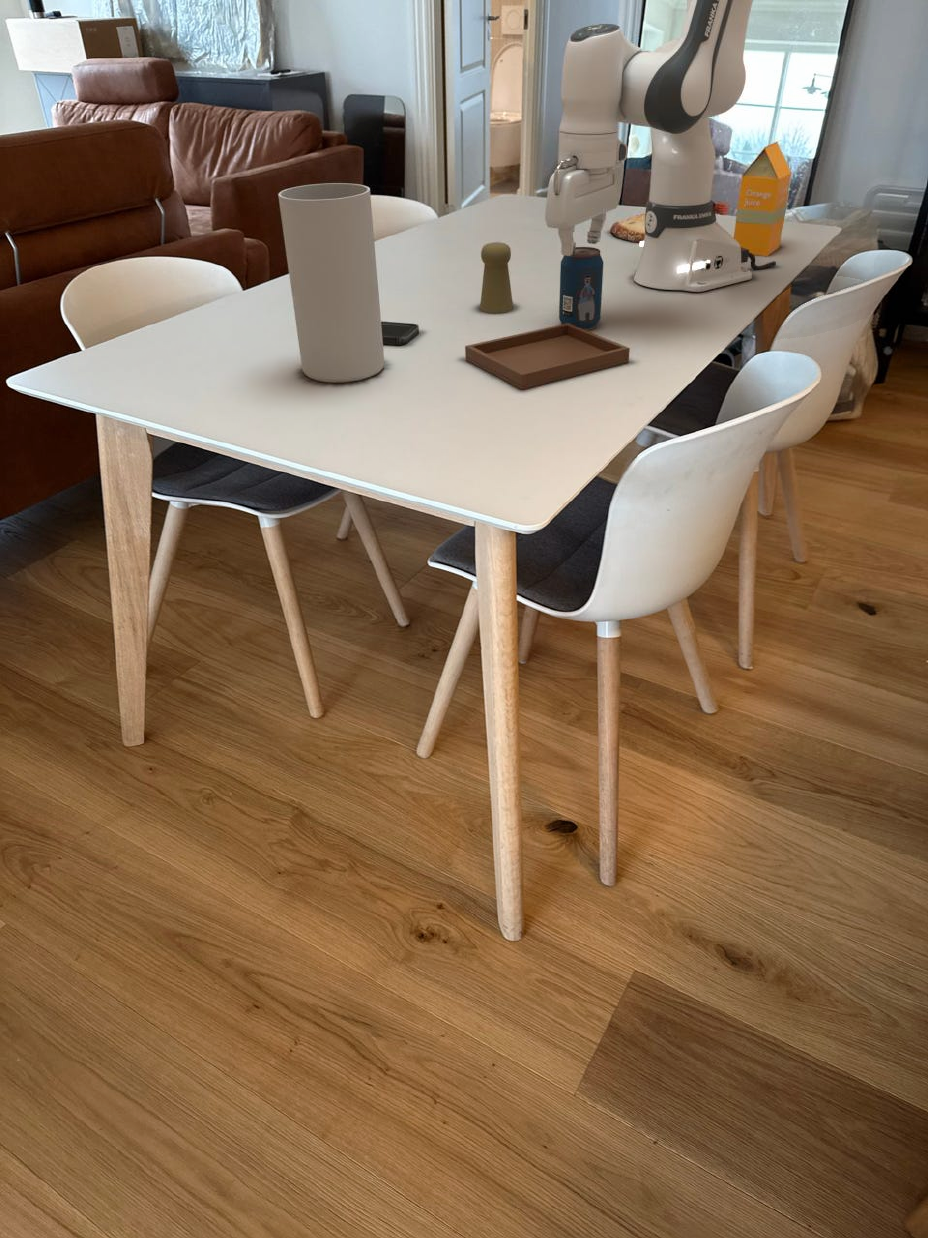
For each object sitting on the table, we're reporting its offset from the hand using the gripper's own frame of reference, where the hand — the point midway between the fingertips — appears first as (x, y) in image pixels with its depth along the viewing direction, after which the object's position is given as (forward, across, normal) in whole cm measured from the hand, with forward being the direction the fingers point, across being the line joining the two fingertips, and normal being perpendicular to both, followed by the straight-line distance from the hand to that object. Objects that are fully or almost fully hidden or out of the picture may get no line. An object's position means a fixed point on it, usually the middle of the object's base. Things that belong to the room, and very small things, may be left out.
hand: (581, 248), depth 145 cm
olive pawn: (+13, +3, +17) cm, 22 cm away
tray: (+13, -18, -3) cm, 22 cm away
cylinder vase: (+14, -35, +22) cm, 44 cm away
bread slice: (+12, +66, +13) cm, 69 cm away
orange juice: (+11, +64, -11) cm, 66 cm away
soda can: (+13, +1, 0) cm, 13 cm away
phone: (+13, -19, +29) cm, 37 cm away
